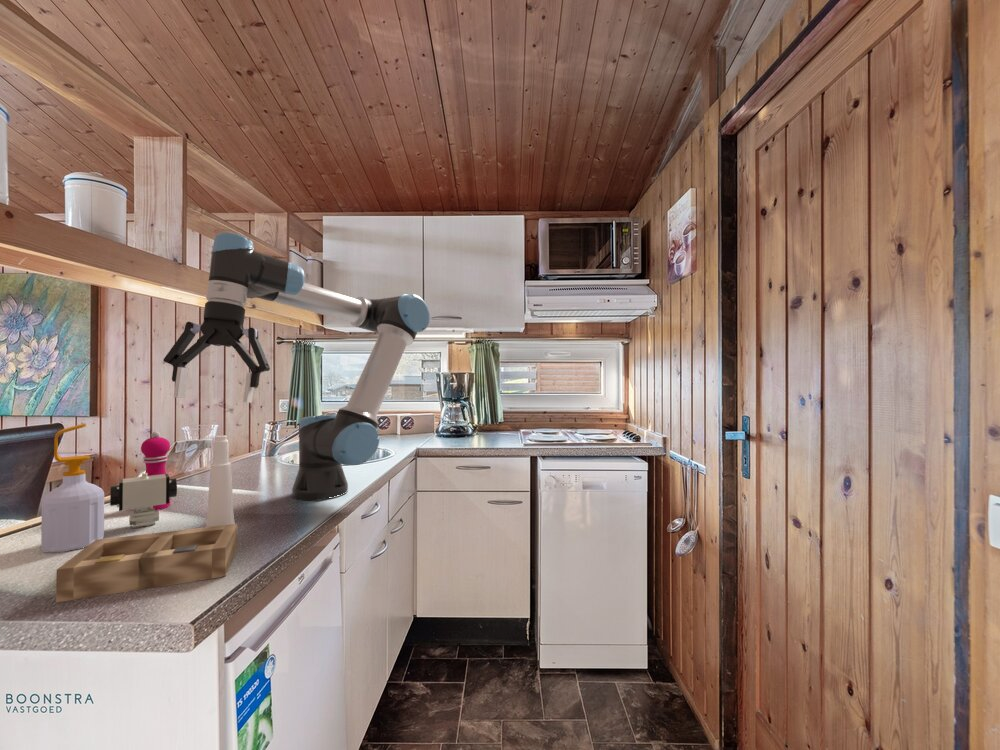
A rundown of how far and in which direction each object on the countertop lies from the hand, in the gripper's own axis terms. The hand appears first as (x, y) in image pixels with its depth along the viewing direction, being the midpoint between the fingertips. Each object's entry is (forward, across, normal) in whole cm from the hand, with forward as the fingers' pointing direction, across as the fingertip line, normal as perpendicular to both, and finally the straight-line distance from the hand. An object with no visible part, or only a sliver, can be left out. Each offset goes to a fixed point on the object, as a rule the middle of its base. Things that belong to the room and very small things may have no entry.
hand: (213, 400), depth 93 cm
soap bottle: (+31, -23, +1) cm, 39 cm away
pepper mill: (+29, -22, +26) cm, 45 cm away
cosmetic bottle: (+29, +5, -1) cm, 30 cm away
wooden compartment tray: (+30, +2, -15) cm, 34 cm away
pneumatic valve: (+30, -17, +12) cm, 37 cm away
